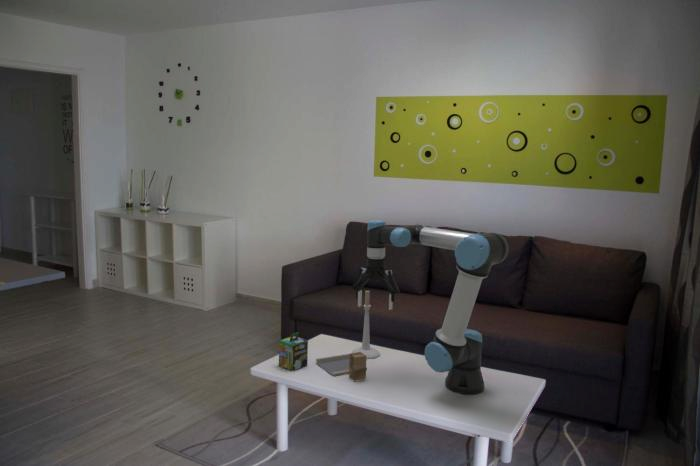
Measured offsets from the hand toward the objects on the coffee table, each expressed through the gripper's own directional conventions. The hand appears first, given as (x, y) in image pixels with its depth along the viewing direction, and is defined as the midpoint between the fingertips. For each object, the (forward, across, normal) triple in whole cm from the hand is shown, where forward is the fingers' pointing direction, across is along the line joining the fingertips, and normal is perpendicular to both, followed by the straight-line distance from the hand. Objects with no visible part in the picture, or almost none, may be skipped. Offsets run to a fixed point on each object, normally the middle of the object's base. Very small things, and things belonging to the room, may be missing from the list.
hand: (375, 307), depth 241 cm
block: (+27, +3, +12) cm, 30 cm away
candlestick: (+27, +10, -17) cm, 33 cm away
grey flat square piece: (+27, +14, +3) cm, 30 cm away
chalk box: (+27, +33, +10) cm, 44 cm away
